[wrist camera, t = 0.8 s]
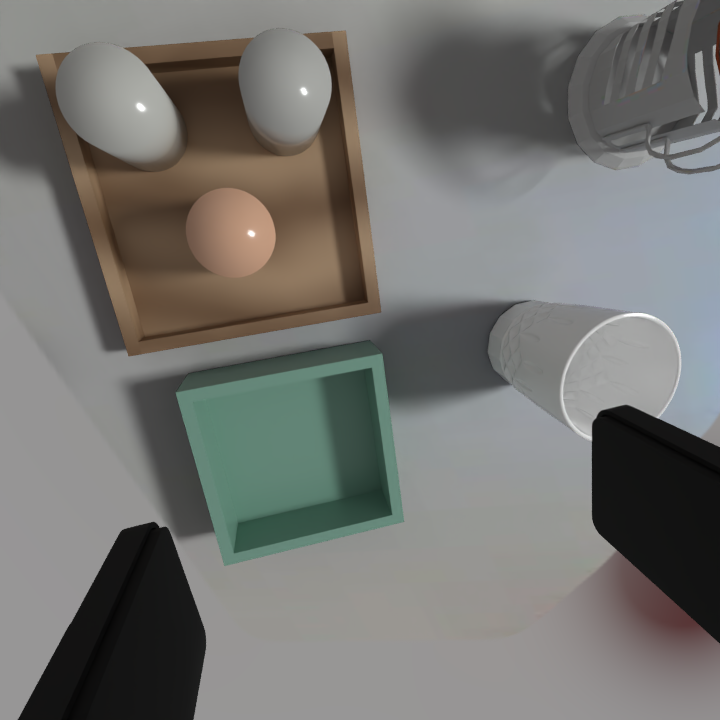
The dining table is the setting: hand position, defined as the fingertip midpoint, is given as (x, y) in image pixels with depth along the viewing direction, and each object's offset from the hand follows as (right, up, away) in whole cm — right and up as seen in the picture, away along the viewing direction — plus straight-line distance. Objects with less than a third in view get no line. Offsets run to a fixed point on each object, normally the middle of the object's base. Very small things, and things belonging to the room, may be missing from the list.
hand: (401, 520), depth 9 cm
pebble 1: (-13, +17, +16) cm, 27 cm away
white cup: (+12, +5, +25) cm, 28 cm away
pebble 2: (-5, +18, +17) cm, 26 cm away
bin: (-6, -2, +23) cm, 24 cm away
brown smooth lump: (-8, +11, +18) cm, 23 cm away
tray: (-9, +13, +18) cm, 24 cm away
